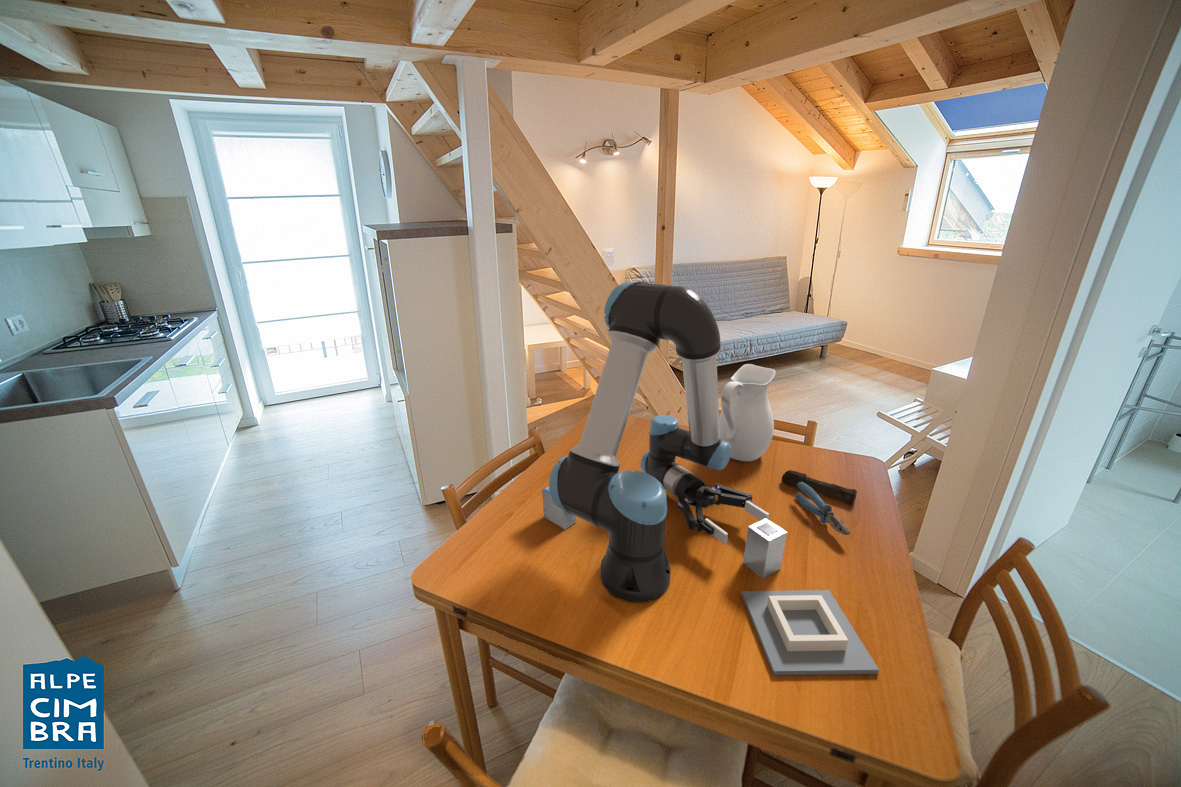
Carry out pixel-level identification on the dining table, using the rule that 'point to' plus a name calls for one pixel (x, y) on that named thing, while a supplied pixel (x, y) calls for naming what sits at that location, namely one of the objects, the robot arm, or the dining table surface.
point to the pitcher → (747, 412)
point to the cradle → (806, 633)
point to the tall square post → (764, 547)
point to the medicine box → (556, 511)
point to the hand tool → (820, 486)
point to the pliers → (820, 508)
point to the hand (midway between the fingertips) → (747, 528)
